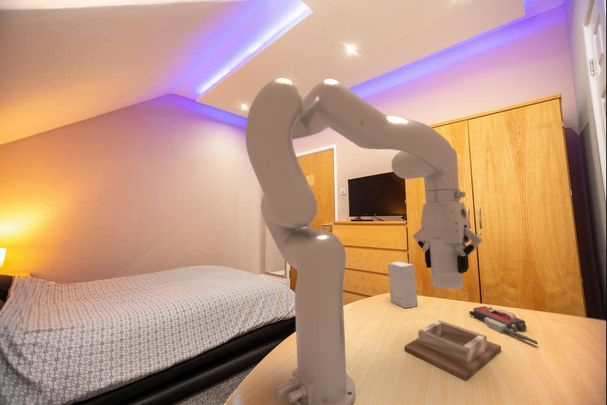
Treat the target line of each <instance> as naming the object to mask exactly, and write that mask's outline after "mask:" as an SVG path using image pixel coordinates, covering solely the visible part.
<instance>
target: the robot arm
mask: <svg viewBox="0 0 607 405" xmlns="http://www.w3.org/2000/svg"><path fill="white" fill-rule="evenodd" d="M327 128H330V129H331V130H333V131H334V132H336V133H337V134H339V135H341V136H342V137H344V139H347V140H348V141H350V142H352V143H353V144H354V145H355V146H357V147H359V148H361V149H365V150H367V149H368V150H369V149H370V150H392V151H393V150H394V151H399V152H396V154H395V155H394V156H393V158H392V160H391V169H392V172H393V173H394V174H395V175H396V176H397V177H399V178H400V179H405V180H410V179H411V180H412V179H419V178H423V182H424V198H425V199H424V200H425V204H423V205H422V211H421V219H420V220H421V221H420V222H421V223H420V224H421V225H420V229H419V230H418V231H417V232H416V233H415V234H413V239H414V240H415V242H416V243H417V245H418V246H419V248H421V250H422V252H423V253H424V262H425V265H426V266H425V267H426V268H428V269H431V260H430V242H431V239H432V238H433V239H442V240H443V242H444V243H446V244H453V245H454V246H455V247H456V249H457V251H458V252H459V256H457V263H458V272H459V273H463V274H464V273H467V272H468V270H469V268H470V267H469V266H470V263H469V261H470V260H469V255H471V253H473V251H475V250H476V249H477V248H478V247H479V245H480V244H481V243H483V239H482V238H481V237H480V236H479V235H477V234H476V233H474V232H473V231H472V230H471V229H470V228H471V227H470V224H469V223H470V222H469V216H468V212H467V210H466V205H465V203H464V202H460V201H461V199H462V198H465V197H466V192H465V191H461V190H460V188H459V185H460V183H459V168H458V167H459V166H458V156H457V155H458V154H457V151H456V149H455V148H453V146H452V144H451V143H450V142H449V141H448V139H446V138H445V137H444V136H443V135H442V134H440V133H439V132H438V131H436V130H435V129H434V128H432V127H430V126H429V125H427V124H425V123H424V122H420V121H418V120H414V119H409V118H404V117H402V116H401V117H400V116H395V115H390V114H389V115H388V114H385V113H383V112H381V111H380V110H378V109H377V108H376V107H374V106H373V105H371V104H370V103H369V102H367V101H366V100H364V98H362V97H360V96H359V95H358V94H356V93H355V92H354V91H352V90H351V89H350V88H349V87H347V86H346V85H344V84H343V83H341V82H340V81H338V80H336V79H332V78H328V79H327V78H326V79H324V80H322V81H320V82H318V83H317V84H316V85H315V86H314V87H313V88H312V89H311V90H310V91H309V92H308V94H306V96H305V97H304V98H303V99H302V95H301V93H300V90H299V88H298V87H297V85H295V83H294V82H292V81H291V80H290V79H287V78H282V77H280V78H275V79H272V80H270V81H268V83H266V84H264V86H262V88H261V89H260V90H259V91H258V93H257V94H256V96H255V98H254V99H253V101H252V103H251V106H250V108H249V110H248V114H247V119H246V123H245V147H246V152H247V156H248V159H249V162H250V164H251V166H252V170H253V172H254V174H255V176H256V179H257V181H258V184H259V186H260V188H261V190H262V192H263V196H262V199H261V202H260V211H261V215H262V218H263V220H264V224H265V225H266V226H267V229H268V231H269V233H270V235H271V237H272V239H273V241H274V244H275V245H276V247H277V248H278V251H279V253H280V255H281V257H282V258H283V260H284V261H285V263H287V265H289V266H290V267H292V268H293V269H295V270H297V271H296V272H297V276H296V283H295V288H294V289H295V291H294V312H295V337H296V340H295V341H296V366H297V368H295V369H293V370H292V376H291V377H290V378H289V379H288V381H287V382H285V383H283V382H282V383H281V384H279V385H277V386H274V393H275V394H274V395H275V397H276V399H277V400H280V399H283V398H284V397H286V396H287V399H288V402H289V403H290V404H292V403H293V404H294V405H352V404H353V403H354V401H355V397H356V386H355V383H354V380H353V379H352V378H351V376H349V375H348V374H347V362H346V361H347V358H346V338H345V335H346V334H345V332H346V331H345V314H344V313H345V312H344V310H345V309H344V279H345V272H346V265H347V264H346V262H347V256H346V255H347V254H346V250H345V247H344V245H343V242H342V241H341V240H340V238H339V237H338V236H337V235H335V234H334V233H332V232H330V231H328V230H324V229H320V228H313V226H312V222H313V221H314V220H315V219H316V217H317V214H318V202H317V200H316V196H315V194H314V192H313V189H312V188H311V186H310V184H309V182H308V179H307V178H306V175H305V173H304V171H303V169H302V166H301V165H300V162H299V160H298V157H297V154H296V151H295V148H294V143H293V142H294V140H296V139H298V140H299V139H302V138H306V137H310V136H313V135H314V136H315V135H316V134H320V133H321V132H323V131H325V130H326V129H327ZM470 241H471V242H470ZM469 242H470V243H469ZM466 243H469V244H468V245H467V244H466Z"/></svg>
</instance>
